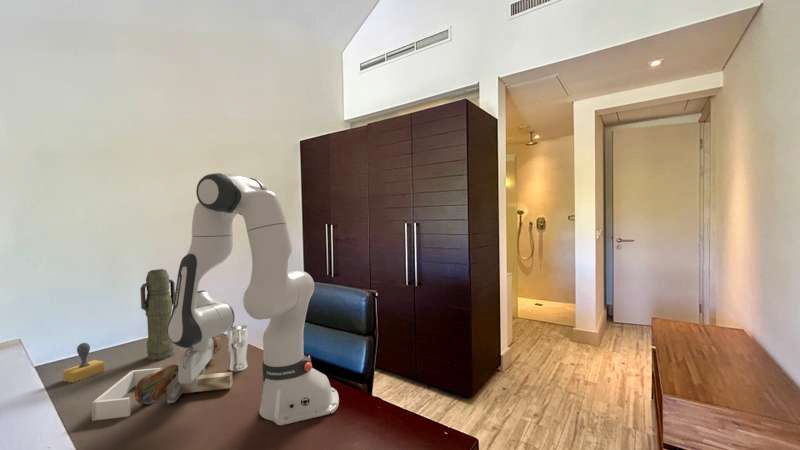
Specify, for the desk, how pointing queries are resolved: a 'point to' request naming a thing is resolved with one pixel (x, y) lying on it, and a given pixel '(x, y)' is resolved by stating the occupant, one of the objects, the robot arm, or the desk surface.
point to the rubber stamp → (83, 366)
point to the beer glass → (237, 347)
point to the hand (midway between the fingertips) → (197, 384)
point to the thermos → (158, 313)
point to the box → (117, 397)
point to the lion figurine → (216, 347)
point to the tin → (155, 384)
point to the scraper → (205, 384)
